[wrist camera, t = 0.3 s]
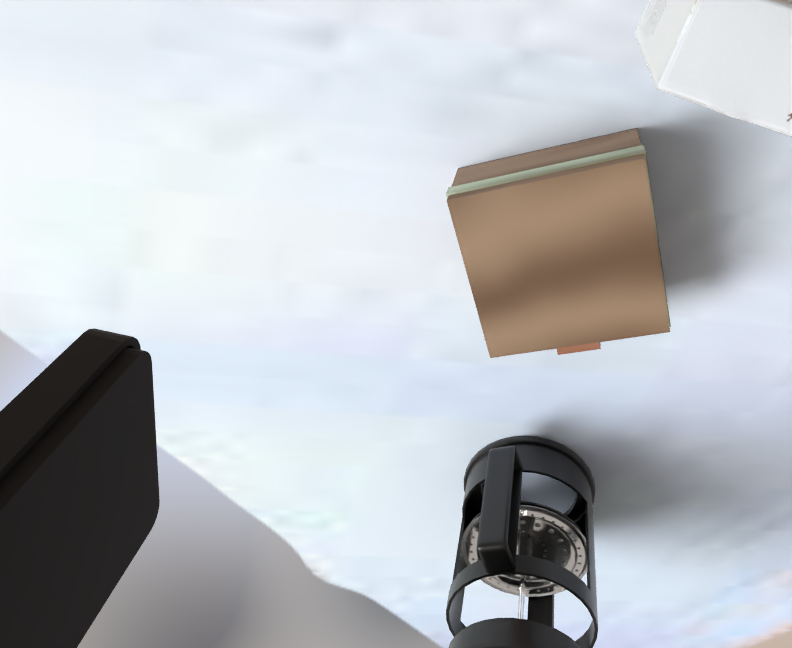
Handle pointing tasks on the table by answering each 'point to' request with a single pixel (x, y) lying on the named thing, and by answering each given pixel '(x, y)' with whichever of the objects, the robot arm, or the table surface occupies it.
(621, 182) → the gift box
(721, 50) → the skincare box
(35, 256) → the table surface
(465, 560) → the french press
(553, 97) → the table surface
